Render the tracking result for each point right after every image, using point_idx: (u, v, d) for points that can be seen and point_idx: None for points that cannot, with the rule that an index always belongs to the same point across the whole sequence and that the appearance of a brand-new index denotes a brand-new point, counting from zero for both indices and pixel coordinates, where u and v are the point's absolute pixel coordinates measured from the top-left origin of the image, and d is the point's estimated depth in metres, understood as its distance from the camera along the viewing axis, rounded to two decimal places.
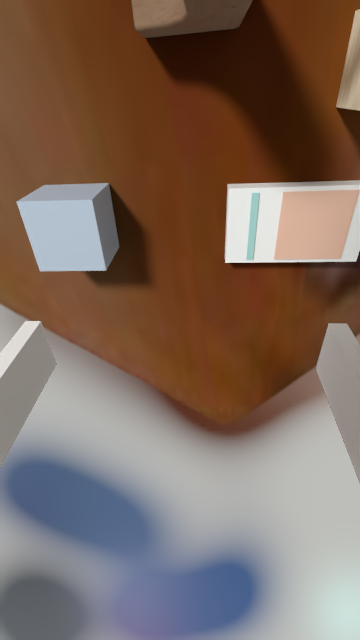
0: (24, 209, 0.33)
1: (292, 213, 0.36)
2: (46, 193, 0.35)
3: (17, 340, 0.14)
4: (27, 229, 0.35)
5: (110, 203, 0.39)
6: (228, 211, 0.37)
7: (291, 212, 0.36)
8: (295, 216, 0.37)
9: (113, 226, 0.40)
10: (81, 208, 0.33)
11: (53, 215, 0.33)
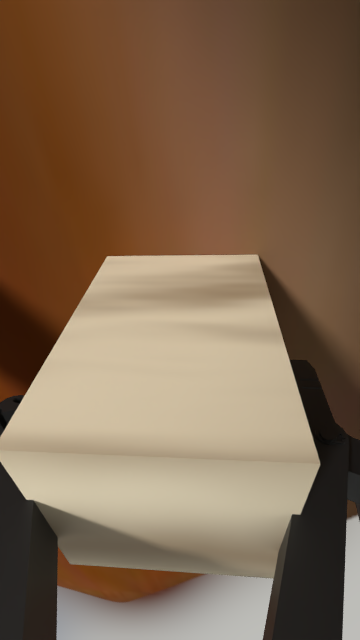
0: None
1: None
2: None
3: None
4: None
5: None
6: None
7: None
8: None
9: None
10: None
11: None
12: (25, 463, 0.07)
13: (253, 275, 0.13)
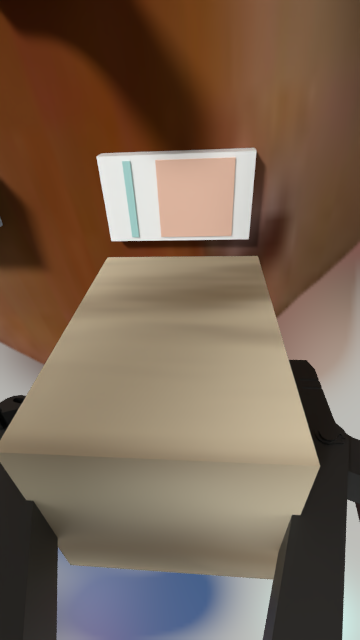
0: None
1: (169, 184, 0.33)
2: None
3: None
4: None
5: None
6: (102, 183, 0.34)
7: (168, 184, 0.33)
8: (173, 188, 0.34)
9: None
10: None
11: None
12: (26, 465, 0.07)
13: (253, 276, 0.13)
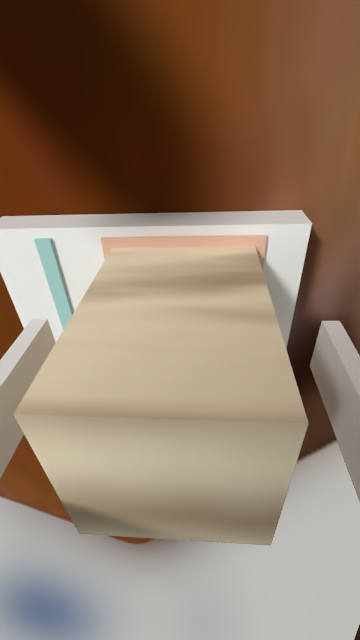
0: None
1: None
2: None
3: (25, 337, 0.14)
4: None
5: None
6: (3, 274, 0.17)
7: None
8: None
9: None
10: None
11: None
12: (42, 427, 0.08)
13: (250, 264, 0.14)
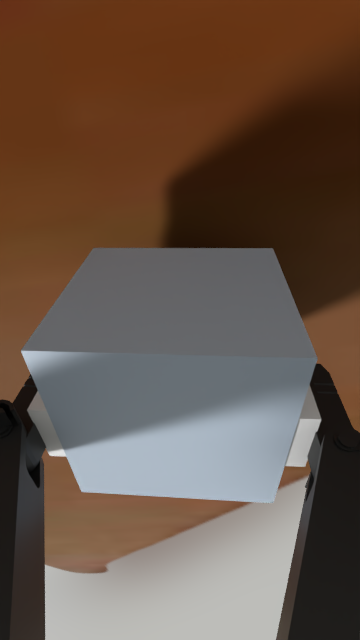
0: (97, 486, 0.13)
1: None
2: None
3: None
4: (150, 493, 0.13)
5: (137, 255, 0.14)
6: None
7: None
8: None
9: (201, 258, 0.13)
10: (62, 384, 0.10)
11: (101, 446, 0.11)
12: None
13: None
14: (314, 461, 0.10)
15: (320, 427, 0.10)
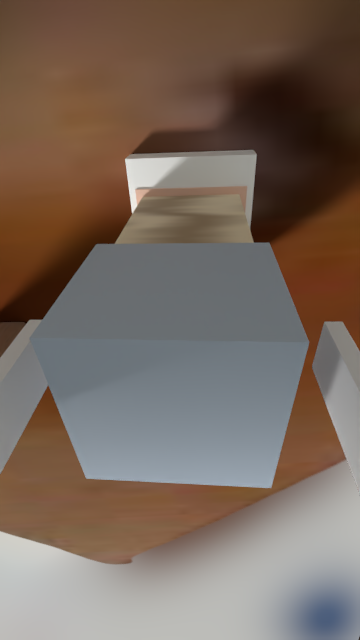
0: (101, 472, 0.14)
1: None
2: None
3: (22, 338, 0.14)
4: (152, 479, 0.14)
5: (138, 251, 0.14)
6: None
7: None
8: None
9: (199, 252, 0.14)
10: (68, 370, 0.10)
11: (105, 431, 0.12)
12: None
13: None
14: None
15: None
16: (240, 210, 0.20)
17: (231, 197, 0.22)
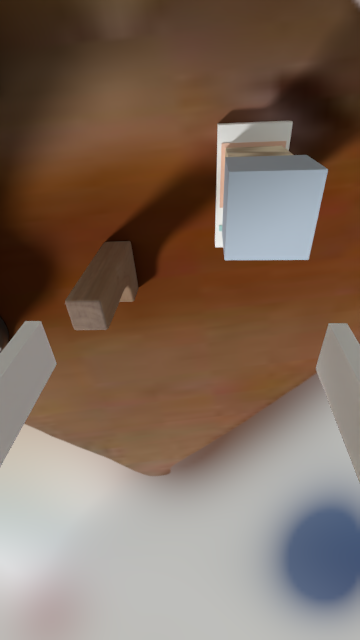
0: (233, 254, 0.31)
1: None
2: (224, 229, 0.32)
3: (17, 340, 0.14)
4: (255, 258, 0.31)
5: (247, 158, 0.31)
6: None
7: None
8: None
9: (276, 157, 0.31)
10: (238, 188, 0.27)
11: (242, 224, 0.29)
12: None
13: None
14: None
15: None
16: (285, 150, 0.37)
17: (277, 146, 0.39)
